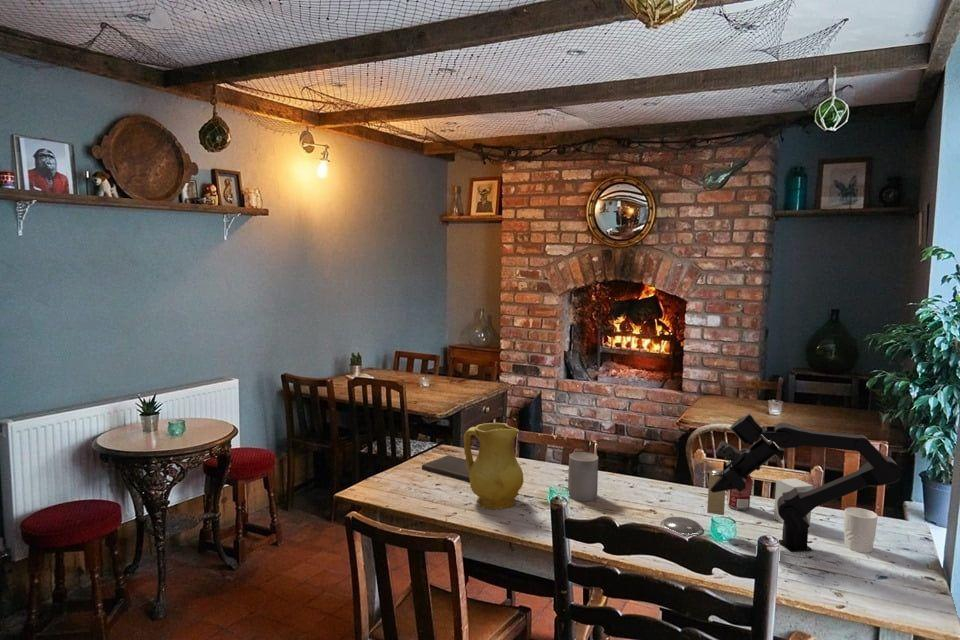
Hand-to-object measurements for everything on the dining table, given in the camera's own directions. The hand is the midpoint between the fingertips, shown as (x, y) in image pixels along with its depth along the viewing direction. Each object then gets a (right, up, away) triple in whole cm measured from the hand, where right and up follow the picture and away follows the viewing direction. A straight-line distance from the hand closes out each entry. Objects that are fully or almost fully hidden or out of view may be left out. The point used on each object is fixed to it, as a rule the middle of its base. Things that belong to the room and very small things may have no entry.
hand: (711, 488), depth 184 cm
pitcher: (-63, -10, +21) cm, 67 cm away
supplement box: (+28, -13, +10) cm, 33 cm away
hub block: (+1, -7, 0) cm, 7 cm away
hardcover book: (-75, -8, +51) cm, 91 cm away
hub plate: (-8, -13, +4) cm, 15 cm away
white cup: (+38, -15, -7) cm, 42 cm away
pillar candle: (-33, -10, +28) cm, 44 cm away
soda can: (+16, -12, +21) cm, 29 cm away
